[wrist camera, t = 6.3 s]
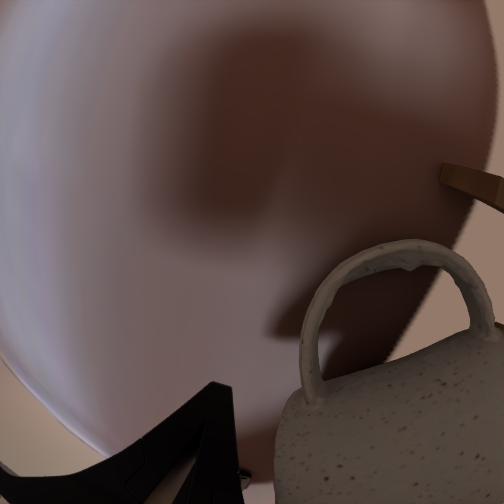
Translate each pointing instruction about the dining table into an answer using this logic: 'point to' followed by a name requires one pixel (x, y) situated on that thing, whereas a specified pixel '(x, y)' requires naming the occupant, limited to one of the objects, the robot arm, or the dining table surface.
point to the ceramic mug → (398, 406)
